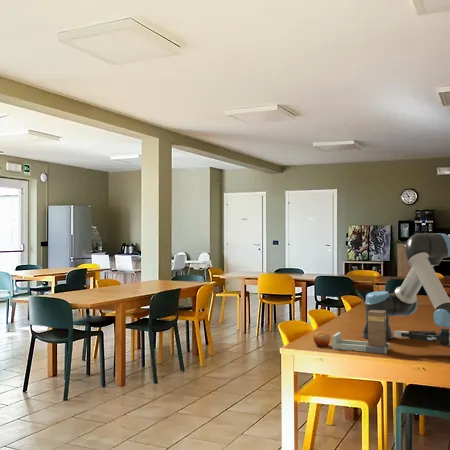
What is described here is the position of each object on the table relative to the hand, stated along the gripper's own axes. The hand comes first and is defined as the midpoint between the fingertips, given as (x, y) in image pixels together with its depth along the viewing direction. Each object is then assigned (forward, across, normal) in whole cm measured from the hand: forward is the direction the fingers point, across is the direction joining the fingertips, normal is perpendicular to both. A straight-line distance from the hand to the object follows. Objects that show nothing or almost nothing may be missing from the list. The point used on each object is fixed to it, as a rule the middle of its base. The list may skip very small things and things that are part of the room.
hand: (394, 333), depth 252 cm
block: (+8, 0, -8) cm, 11 cm away
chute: (+15, 0, -8) cm, 17 cm away
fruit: (+34, 0, -9) cm, 35 cm away
